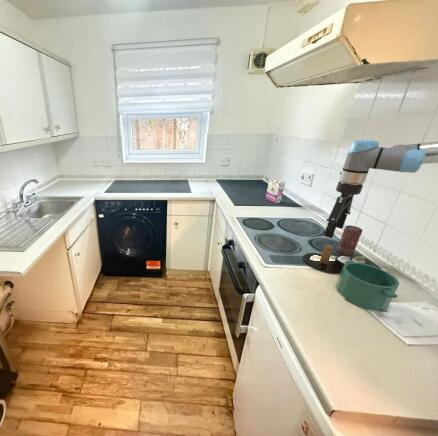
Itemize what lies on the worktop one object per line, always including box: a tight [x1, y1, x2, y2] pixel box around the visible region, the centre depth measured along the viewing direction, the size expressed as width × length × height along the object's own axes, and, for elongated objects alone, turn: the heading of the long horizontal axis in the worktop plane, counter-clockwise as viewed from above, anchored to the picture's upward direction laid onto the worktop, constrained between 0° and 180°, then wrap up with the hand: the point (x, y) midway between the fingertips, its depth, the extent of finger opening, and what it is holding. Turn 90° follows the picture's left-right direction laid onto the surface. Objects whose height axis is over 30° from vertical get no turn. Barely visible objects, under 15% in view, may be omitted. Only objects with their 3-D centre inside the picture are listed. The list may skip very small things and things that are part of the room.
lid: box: [302, 244, 345, 275], centre depth 103 cm, size 16×16×9 cm
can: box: [336, 225, 364, 258], centre depth 110 cm, size 6×6×14 cm
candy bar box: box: [264, 178, 286, 205], centre depth 181 cm, size 11×5×16 cm, turn 15°
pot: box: [335, 259, 400, 311], centre depth 85 cm, size 15×20×10 cm
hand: (333, 232), depth 99 cm, fingers open, 13 cm apart
